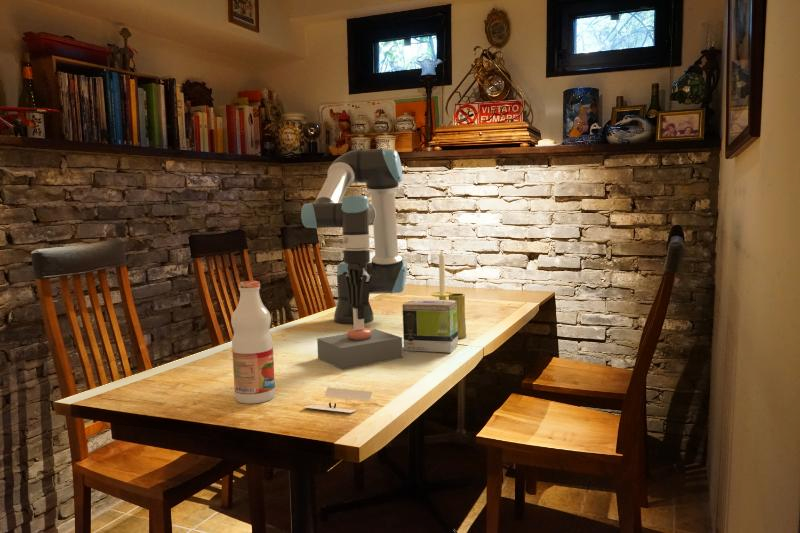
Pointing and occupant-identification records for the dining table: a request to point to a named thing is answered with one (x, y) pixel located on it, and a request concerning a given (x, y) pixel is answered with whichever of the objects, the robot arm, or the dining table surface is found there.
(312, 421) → the dining table surface
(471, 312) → the dining table surface
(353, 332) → the button
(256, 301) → the fruit juice
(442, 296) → the candle
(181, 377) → the dining table surface
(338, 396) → the beige flat rectangular pieces
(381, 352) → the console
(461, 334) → the vase
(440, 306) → the tea box
